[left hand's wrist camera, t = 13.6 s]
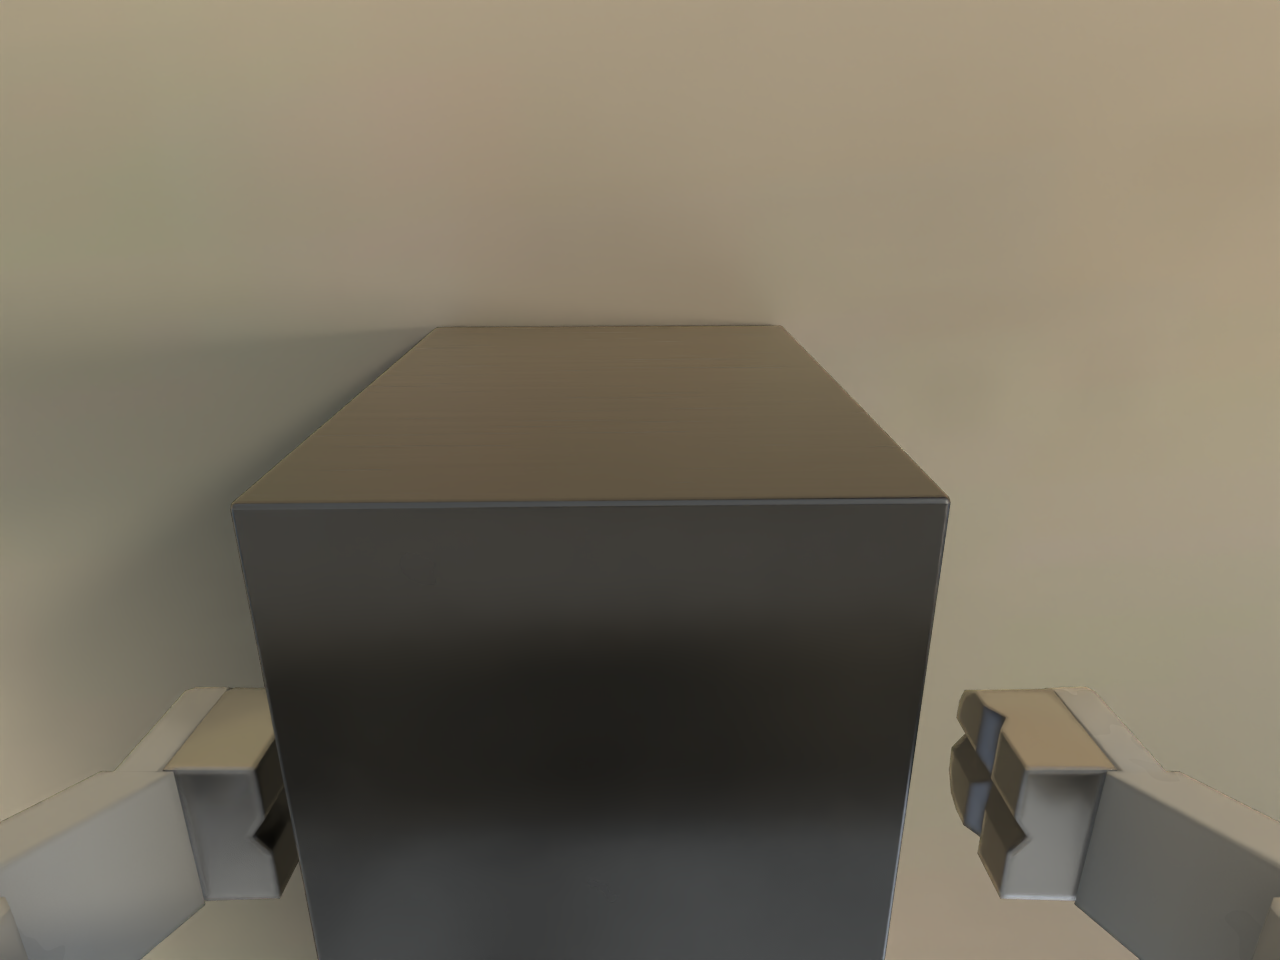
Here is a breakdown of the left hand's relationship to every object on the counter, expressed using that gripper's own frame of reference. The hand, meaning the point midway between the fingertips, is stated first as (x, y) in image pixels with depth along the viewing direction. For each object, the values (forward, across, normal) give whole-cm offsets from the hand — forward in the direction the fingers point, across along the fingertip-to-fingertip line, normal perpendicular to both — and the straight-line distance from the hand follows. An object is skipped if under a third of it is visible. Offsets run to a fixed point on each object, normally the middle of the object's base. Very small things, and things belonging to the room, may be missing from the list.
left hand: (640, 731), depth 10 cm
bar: (+5, 0, -7) cm, 9 cm away
